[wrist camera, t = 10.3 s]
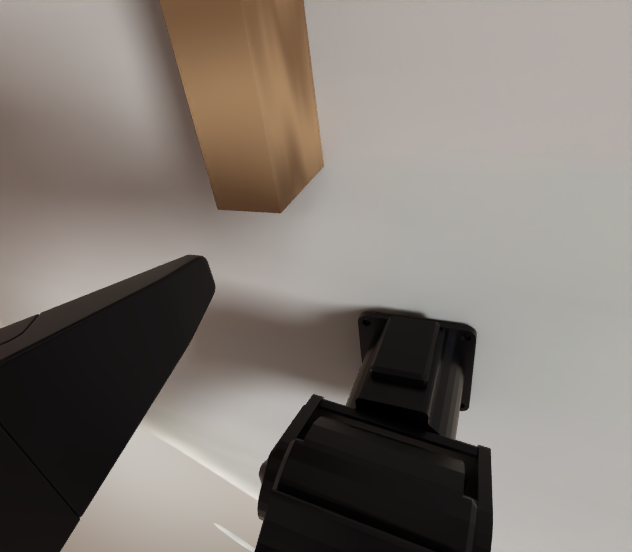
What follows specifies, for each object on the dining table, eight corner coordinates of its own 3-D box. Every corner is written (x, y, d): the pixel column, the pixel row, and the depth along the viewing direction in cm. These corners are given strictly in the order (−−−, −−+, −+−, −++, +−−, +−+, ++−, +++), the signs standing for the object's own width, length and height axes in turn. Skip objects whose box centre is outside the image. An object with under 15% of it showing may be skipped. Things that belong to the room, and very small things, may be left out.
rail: (324, 166, 21) (281, 213, 18) (268, 165, 22) (217, 209, 19) (270, -270, 13) (172, -353, 10) (190, -238, 15) (73, -301, 11)
